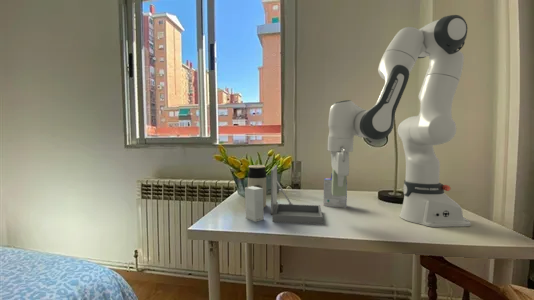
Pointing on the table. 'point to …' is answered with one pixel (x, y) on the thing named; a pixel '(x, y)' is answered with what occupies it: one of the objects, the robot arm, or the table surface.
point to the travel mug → (258, 179)
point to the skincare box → (254, 203)
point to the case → (292, 207)
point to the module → (335, 188)
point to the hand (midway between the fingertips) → (338, 184)
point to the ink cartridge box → (331, 199)
